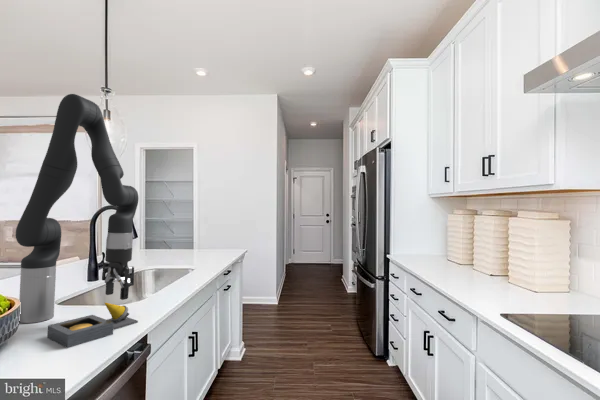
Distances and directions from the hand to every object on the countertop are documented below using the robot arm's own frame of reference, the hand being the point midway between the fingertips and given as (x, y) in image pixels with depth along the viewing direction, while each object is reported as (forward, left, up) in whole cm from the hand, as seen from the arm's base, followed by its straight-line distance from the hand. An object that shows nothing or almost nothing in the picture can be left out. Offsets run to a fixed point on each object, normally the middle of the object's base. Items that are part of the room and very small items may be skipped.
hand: (116, 296), depth 107 cm
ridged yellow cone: (+1, 0, -8) cm, 8 cm away
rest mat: (0, 0, -9) cm, 9 cm away
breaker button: (+2, -11, -8) cm, 14 cm away
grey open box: (+2, -11, -9) cm, 14 cm away
